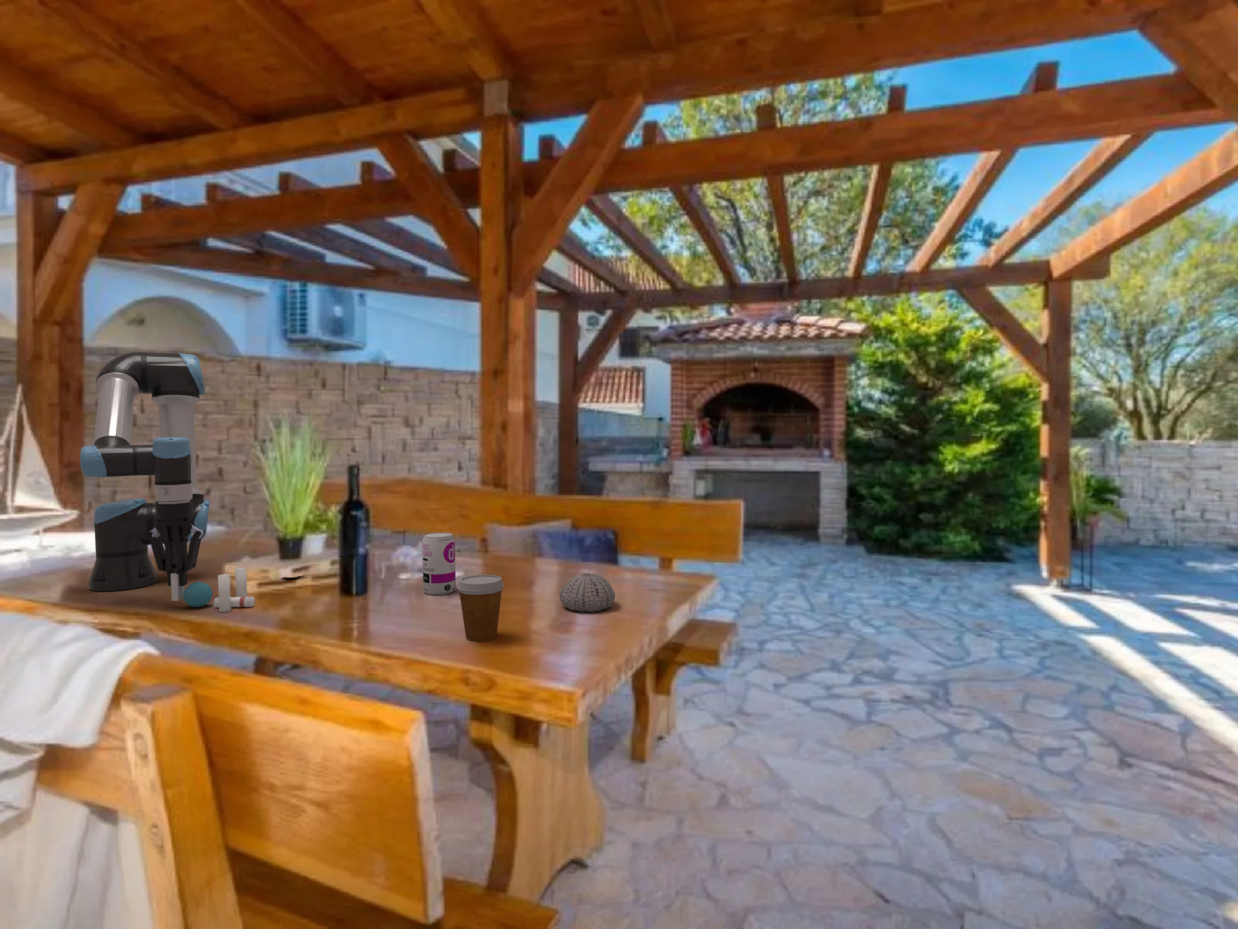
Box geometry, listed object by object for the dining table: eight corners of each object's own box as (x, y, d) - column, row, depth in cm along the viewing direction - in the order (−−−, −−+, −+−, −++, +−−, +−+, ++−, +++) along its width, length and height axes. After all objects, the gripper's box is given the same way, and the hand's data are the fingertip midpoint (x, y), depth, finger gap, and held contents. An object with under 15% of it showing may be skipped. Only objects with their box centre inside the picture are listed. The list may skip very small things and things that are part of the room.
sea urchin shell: (622, 602, 170) (621, 569, 170) (606, 617, 157) (606, 582, 157) (571, 598, 174) (570, 566, 174) (551, 612, 161) (551, 578, 161)
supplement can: (461, 589, 183) (460, 533, 182) (444, 596, 176) (442, 538, 175) (435, 586, 186) (434, 531, 185) (416, 594, 178) (415, 536, 177)
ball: (207, 573, 168) (221, 593, 168) (197, 584, 171) (211, 604, 171) (183, 584, 163) (198, 604, 163) (173, 595, 166) (188, 615, 165)
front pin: (213, 598, 165) (250, 597, 165) (218, 596, 167) (255, 595, 168) (213, 608, 165) (250, 607, 165) (218, 607, 167) (254, 606, 168)
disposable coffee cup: (461, 630, 147) (460, 574, 146) (506, 629, 148) (505, 573, 147) (454, 644, 138) (453, 585, 137) (502, 643, 139) (501, 584, 138)
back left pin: (236, 601, 172) (234, 567, 171) (247, 600, 173) (245, 566, 172) (236, 603, 170) (235, 569, 169) (247, 602, 171) (246, 568, 170)
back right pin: (219, 610, 164) (217, 574, 163) (230, 608, 165) (229, 573, 164) (219, 612, 162) (218, 576, 161) (231, 611, 163) (229, 575, 162)
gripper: (135, 503, 161) (140, 603, 163) (193, 503, 162) (197, 602, 163) (155, 500, 169) (160, 595, 170) (210, 499, 169) (214, 595, 171)
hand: (178, 599), depth 167 cm, fingers closed
